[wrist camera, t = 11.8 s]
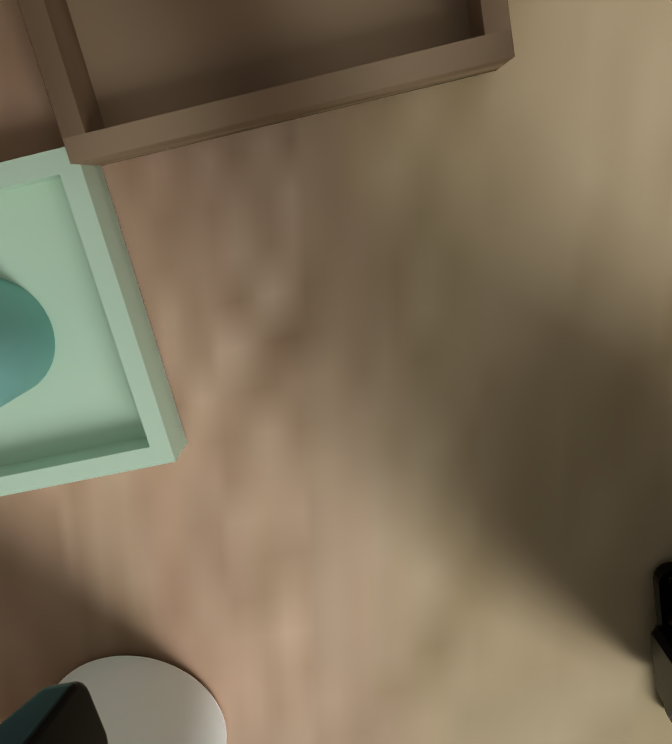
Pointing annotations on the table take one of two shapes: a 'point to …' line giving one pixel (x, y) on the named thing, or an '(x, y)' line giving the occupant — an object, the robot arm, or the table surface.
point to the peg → (22, 341)
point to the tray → (80, 334)
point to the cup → (150, 702)
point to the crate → (242, 62)
